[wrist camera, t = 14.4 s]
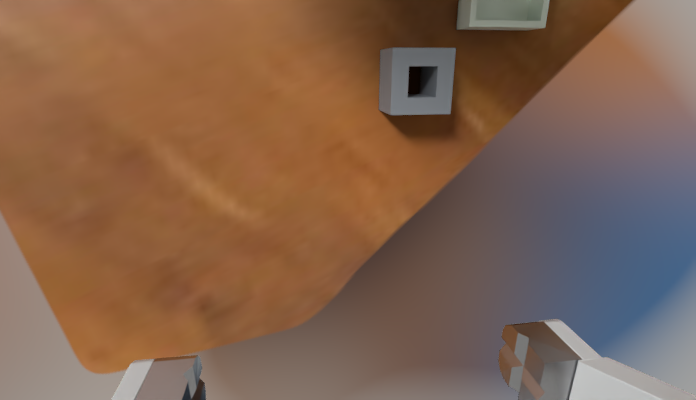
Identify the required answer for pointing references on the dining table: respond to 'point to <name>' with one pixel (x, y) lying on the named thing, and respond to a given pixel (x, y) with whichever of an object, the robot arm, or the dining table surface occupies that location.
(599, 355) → the robot arm
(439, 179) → the dining table surface
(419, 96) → the pin block
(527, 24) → the tray
